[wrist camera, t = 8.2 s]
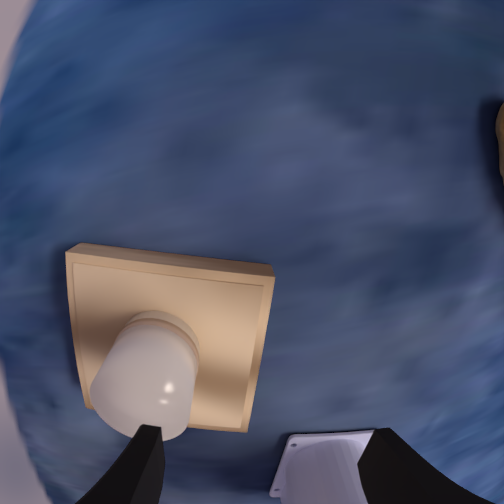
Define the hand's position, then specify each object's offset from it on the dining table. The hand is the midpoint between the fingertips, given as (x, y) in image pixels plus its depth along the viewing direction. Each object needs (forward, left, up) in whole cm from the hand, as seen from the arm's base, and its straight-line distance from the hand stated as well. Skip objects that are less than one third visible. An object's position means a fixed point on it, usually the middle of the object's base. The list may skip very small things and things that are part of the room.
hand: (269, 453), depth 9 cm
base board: (-2, +5, -10) cm, 11 cm away
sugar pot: (-1, +5, -8) cm, 9 cm away
